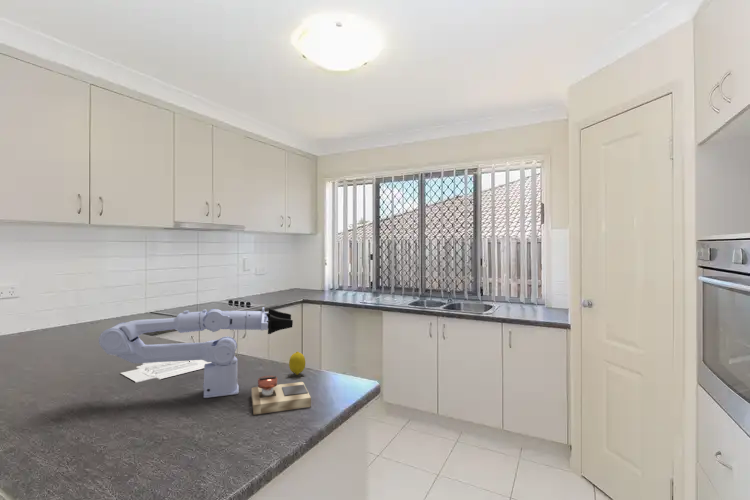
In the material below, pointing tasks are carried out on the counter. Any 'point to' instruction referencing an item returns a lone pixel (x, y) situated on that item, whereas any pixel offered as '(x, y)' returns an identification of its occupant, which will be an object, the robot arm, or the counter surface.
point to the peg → (267, 385)
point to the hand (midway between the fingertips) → (291, 320)
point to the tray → (163, 369)
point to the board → (281, 398)
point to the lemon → (297, 363)
